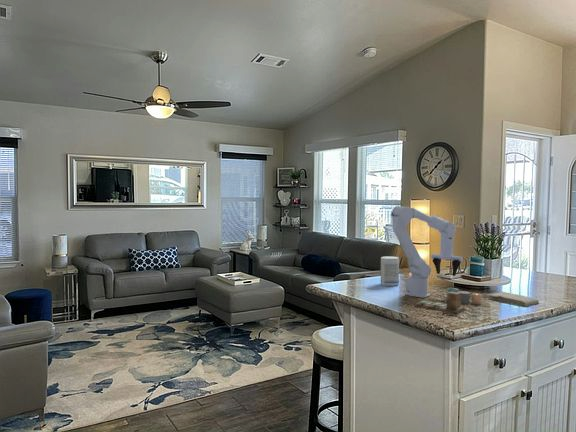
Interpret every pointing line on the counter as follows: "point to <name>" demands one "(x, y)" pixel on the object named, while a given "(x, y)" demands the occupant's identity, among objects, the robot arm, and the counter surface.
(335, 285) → the counter surface
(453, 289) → the teal spool
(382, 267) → the supplement tub
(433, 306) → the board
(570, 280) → the counter surface
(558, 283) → the counter surface
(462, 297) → the charcoal cube
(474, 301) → the peach round blob
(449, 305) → the walnut block
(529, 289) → the counter surface
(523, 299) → the washcloth
